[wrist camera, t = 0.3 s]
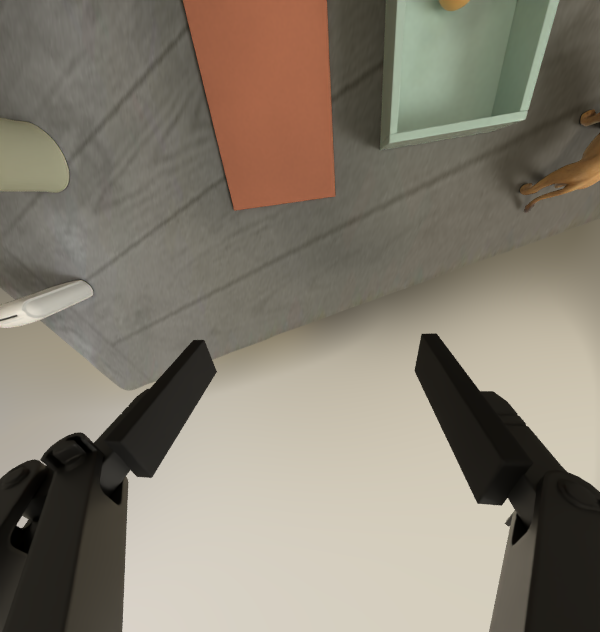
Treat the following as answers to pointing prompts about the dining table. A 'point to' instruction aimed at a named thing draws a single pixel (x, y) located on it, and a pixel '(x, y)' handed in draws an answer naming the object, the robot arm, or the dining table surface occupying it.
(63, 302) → the white curved piece
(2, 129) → the can
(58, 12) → the dining table surface
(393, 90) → the basin
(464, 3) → the figurine
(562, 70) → the dining table surface
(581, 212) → the dining table surface
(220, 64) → the mat
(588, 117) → the lion figurine
